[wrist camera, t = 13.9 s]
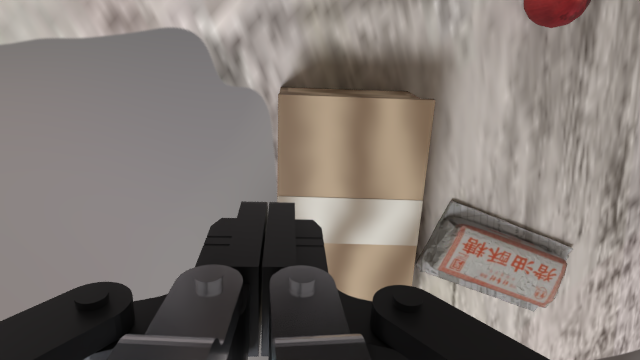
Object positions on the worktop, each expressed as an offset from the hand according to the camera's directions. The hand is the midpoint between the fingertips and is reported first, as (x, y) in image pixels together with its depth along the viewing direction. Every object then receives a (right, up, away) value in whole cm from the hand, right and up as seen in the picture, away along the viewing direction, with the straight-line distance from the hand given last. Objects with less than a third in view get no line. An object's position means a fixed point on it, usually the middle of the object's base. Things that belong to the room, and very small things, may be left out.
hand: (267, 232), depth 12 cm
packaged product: (+24, -8, +44) cm, 51 cm away
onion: (+24, +21, +34) cm, 46 cm away
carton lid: (+4, -2, +32) cm, 33 cm away
